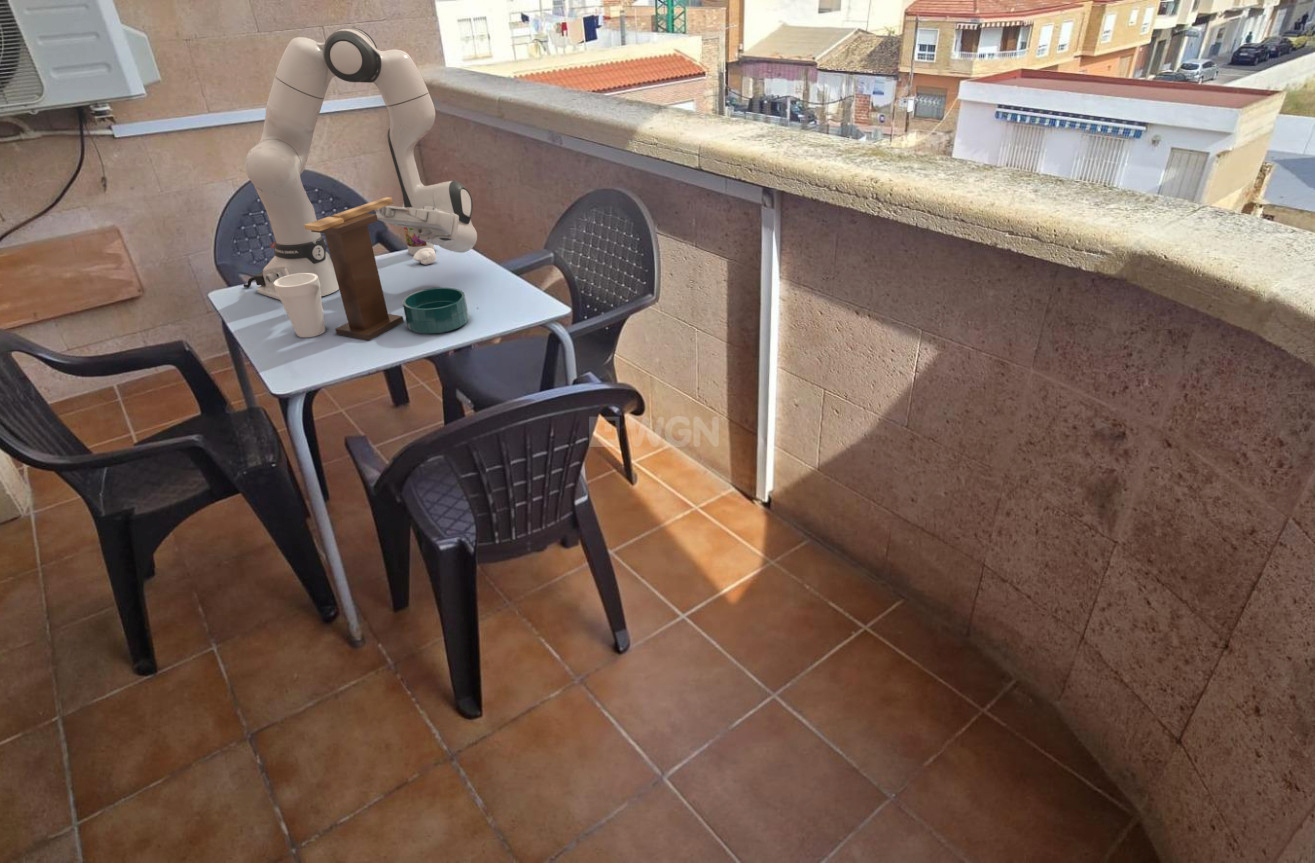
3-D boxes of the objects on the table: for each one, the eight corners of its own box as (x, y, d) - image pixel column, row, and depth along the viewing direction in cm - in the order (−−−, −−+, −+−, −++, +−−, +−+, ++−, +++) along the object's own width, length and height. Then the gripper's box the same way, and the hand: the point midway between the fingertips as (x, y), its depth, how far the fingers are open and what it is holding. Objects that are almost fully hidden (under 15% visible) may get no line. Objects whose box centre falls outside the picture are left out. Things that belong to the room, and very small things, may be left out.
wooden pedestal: (336, 334, 172) (306, 224, 159) (372, 316, 182) (346, 211, 168) (369, 340, 169) (340, 228, 155) (403, 321, 178) (380, 214, 165)
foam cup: (316, 341, 169) (301, 287, 163) (281, 338, 171) (264, 285, 164) (339, 325, 177) (325, 273, 171) (306, 323, 179) (290, 272, 172)
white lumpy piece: (439, 260, 220) (438, 248, 217) (433, 269, 216) (432, 257, 213) (417, 256, 220) (415, 244, 217) (410, 264, 216) (409, 253, 213)
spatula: (383, 202, 174) (382, 196, 174) (397, 204, 173) (395, 198, 172) (305, 229, 156) (303, 223, 155) (319, 231, 154) (318, 224, 153)
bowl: (395, 330, 173) (389, 304, 170) (433, 309, 185) (429, 284, 181) (444, 339, 168) (438, 312, 165) (480, 316, 180) (476, 291, 176)
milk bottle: (420, 247, 231) (407, 182, 221) (439, 250, 228) (427, 184, 218) (403, 254, 225) (389, 187, 215) (423, 257, 222) (409, 189, 212)
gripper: (400, 209, 191) (361, 192, 178) (464, 215, 184) (428, 198, 171) (396, 233, 191) (357, 218, 179) (460, 240, 184) (424, 225, 171)
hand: (392, 208), depth 175 cm, fingers open, 8 cm apart
